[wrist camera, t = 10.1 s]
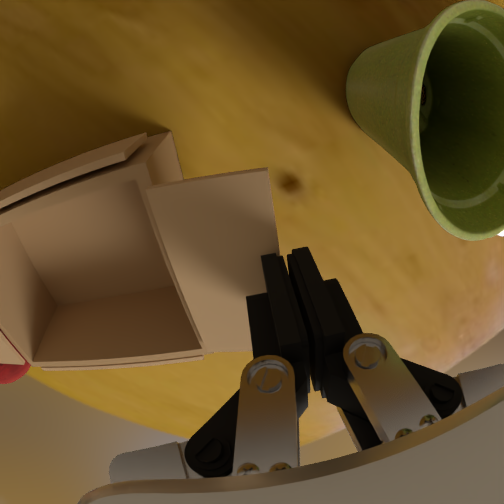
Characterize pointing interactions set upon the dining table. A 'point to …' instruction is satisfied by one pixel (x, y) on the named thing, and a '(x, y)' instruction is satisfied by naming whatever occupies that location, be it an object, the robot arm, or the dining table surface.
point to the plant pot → (442, 113)
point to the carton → (94, 263)
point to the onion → (12, 368)
